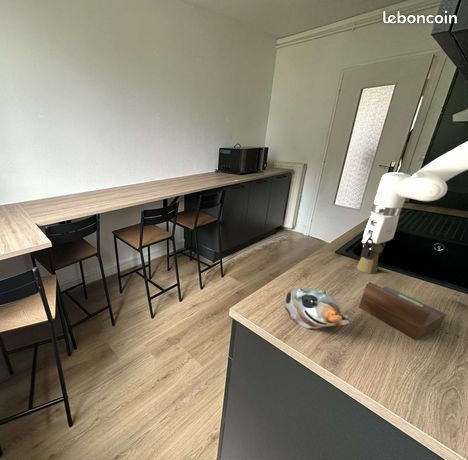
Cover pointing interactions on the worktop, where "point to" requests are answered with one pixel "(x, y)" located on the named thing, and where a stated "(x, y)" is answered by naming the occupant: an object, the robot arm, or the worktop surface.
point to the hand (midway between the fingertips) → (370, 255)
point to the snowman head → (314, 308)
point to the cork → (371, 264)
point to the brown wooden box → (400, 311)
